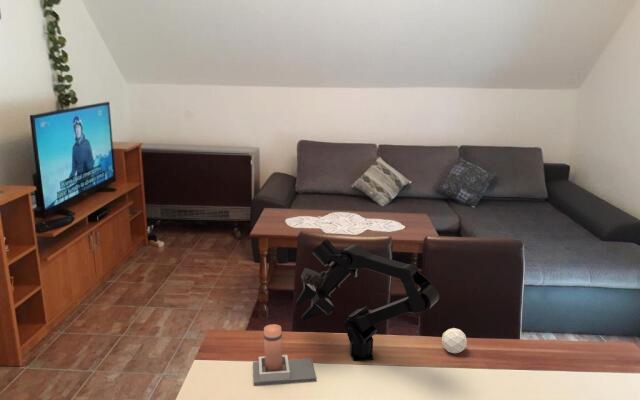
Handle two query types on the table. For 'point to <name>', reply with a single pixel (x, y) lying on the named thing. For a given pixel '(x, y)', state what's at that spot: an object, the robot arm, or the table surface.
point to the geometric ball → (454, 340)
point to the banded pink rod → (273, 348)
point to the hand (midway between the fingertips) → (299, 311)
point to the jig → (284, 372)
